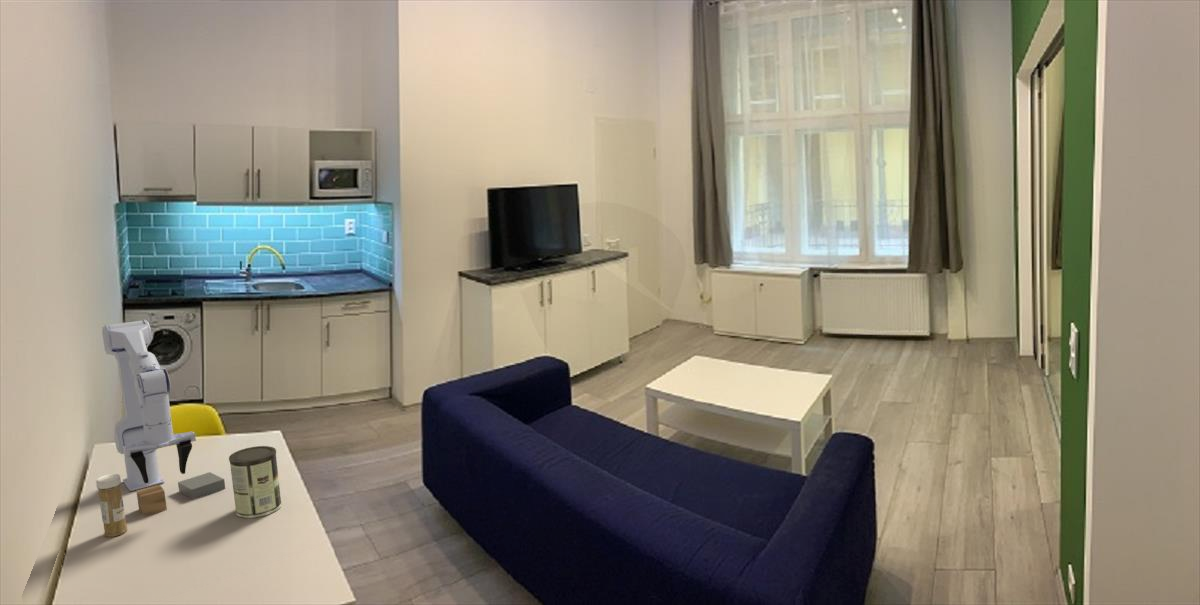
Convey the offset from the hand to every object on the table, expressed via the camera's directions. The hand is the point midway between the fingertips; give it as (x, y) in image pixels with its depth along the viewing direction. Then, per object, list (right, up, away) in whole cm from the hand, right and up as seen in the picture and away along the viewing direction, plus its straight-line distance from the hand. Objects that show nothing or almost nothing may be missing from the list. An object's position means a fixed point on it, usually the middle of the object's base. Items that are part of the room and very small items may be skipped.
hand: (164, 477), depth 178 cm
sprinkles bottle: (-8, -12, -5) cm, 15 cm away
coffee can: (+20, -9, +5) cm, 22 cm away
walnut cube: (-7, -9, +6) cm, 13 cm away
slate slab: (0, -8, +17) cm, 19 cm away
